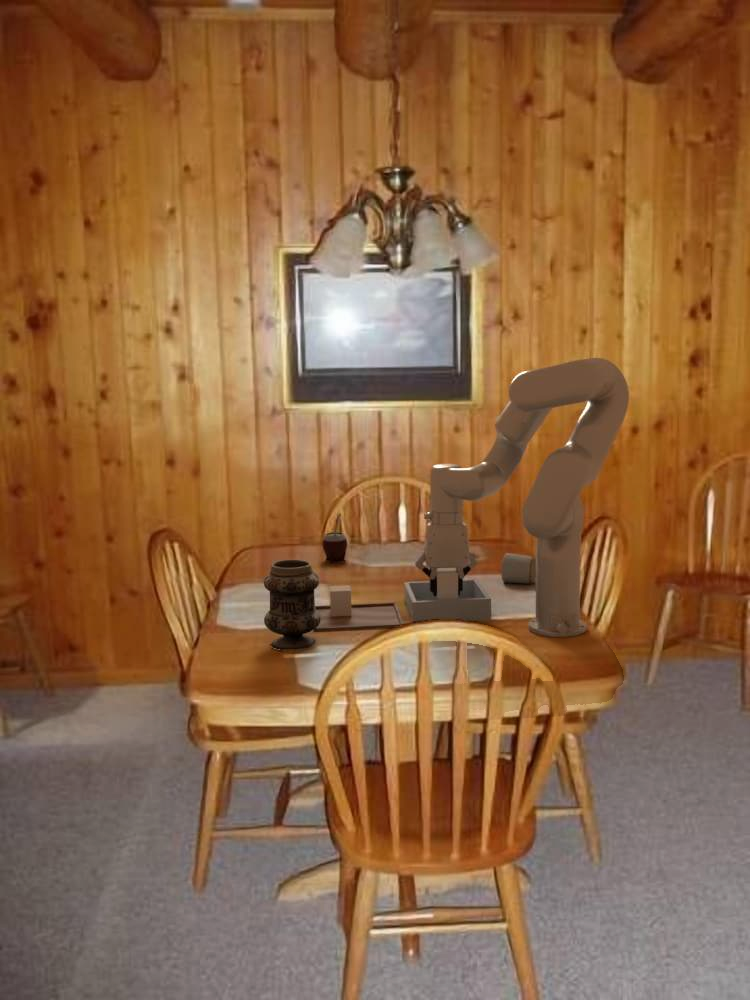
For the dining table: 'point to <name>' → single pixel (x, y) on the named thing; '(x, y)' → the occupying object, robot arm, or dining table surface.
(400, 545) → the dining table surface
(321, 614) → the walnut tray
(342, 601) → the stone
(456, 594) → the beige block
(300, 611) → the apothecary jar
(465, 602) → the tub
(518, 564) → the ceramic mug
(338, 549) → the mate gourd
